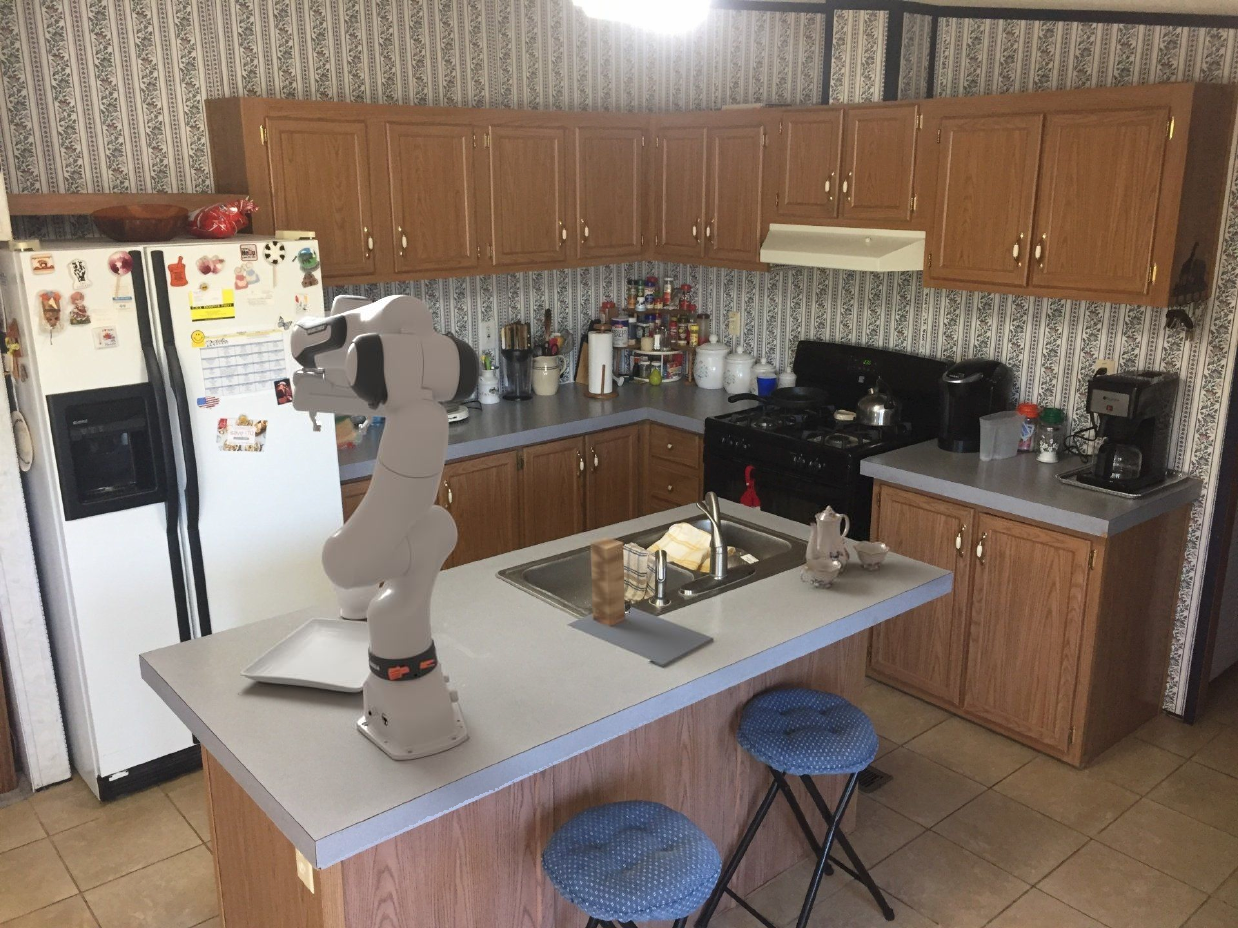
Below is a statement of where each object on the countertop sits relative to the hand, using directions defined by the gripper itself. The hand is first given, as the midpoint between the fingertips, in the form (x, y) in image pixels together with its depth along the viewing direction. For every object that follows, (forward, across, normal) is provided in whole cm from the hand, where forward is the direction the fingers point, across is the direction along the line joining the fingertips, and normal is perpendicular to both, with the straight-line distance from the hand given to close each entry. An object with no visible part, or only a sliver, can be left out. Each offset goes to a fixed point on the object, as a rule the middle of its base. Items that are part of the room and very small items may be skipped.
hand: (339, 432), depth 217 cm
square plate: (+42, +1, -26) cm, 49 cm away
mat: (+28, +62, -36) cm, 77 cm away
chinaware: (+20, +118, -22) cm, 122 cm away
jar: (+43, +8, -2) cm, 44 cm away
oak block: (+29, +58, -28) cm, 71 cm away
